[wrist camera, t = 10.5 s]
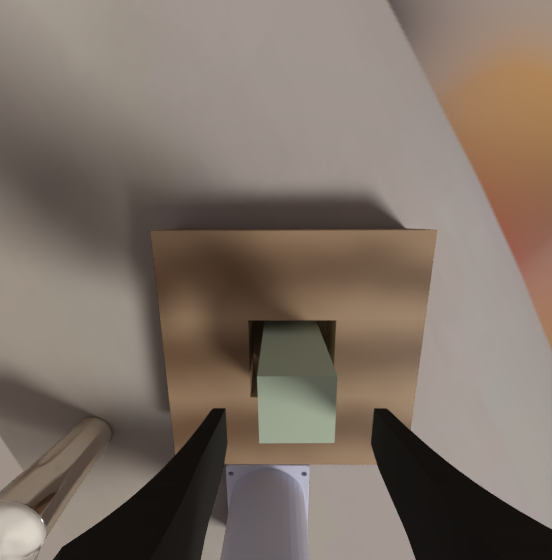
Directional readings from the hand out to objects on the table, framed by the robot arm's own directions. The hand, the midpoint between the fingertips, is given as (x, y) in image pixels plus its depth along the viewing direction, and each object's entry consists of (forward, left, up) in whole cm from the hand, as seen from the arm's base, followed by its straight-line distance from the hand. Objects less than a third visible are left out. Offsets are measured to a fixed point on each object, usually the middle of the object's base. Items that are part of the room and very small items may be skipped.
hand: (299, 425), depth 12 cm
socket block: (0, 0, -10) cm, 10 cm away
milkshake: (-10, +18, -10) cm, 23 cm away
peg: (0, 0, -9) cm, 9 cm away
